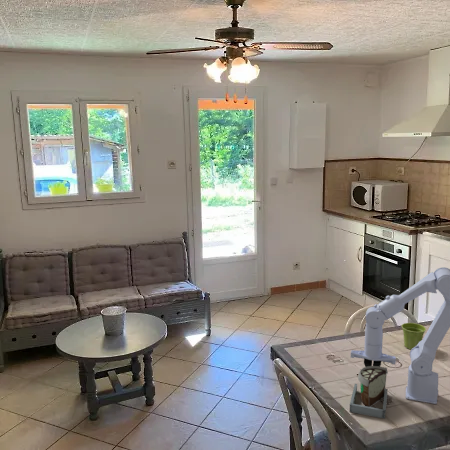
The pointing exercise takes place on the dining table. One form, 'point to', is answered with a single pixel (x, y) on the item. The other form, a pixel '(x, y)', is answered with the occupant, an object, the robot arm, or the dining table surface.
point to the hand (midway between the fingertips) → (371, 379)
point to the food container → (372, 384)
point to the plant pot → (412, 334)
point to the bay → (367, 410)
